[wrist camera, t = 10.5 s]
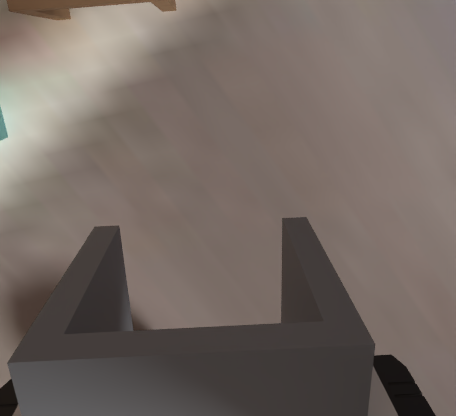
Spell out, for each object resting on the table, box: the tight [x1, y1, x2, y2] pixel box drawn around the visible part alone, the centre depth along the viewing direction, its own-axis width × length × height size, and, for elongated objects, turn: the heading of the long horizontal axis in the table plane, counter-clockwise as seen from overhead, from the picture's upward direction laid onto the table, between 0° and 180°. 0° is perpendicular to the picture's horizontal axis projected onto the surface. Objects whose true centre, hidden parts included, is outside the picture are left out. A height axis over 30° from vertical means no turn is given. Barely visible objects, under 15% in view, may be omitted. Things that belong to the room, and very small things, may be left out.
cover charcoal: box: [7, 217, 375, 416], centre depth 13 cm, size 7×7×6 cm
